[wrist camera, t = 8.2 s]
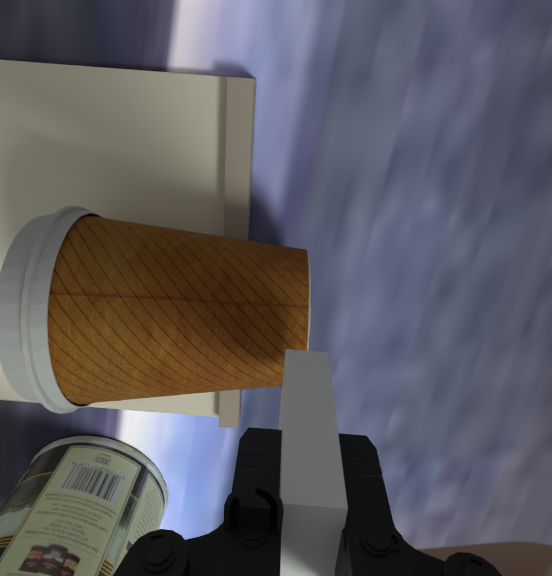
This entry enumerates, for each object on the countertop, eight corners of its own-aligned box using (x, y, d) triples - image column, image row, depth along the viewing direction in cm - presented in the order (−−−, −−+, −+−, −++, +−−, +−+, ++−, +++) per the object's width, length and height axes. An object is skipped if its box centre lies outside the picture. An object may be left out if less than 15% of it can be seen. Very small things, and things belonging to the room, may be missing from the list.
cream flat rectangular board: (256, 79, 22) (253, 78, 21) (240, 412, 30) (237, 428, 29) (-73, 54, 22) (-97, 52, 21) (-2, 393, 30) (-16, 407, 29)
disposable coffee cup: (296, 365, 27) (95, 359, 27) (304, 204, 25) (83, 196, 25) (305, 468, 18) (3, 459, 18) (320, 230, 16) (-31, 217, 16)
